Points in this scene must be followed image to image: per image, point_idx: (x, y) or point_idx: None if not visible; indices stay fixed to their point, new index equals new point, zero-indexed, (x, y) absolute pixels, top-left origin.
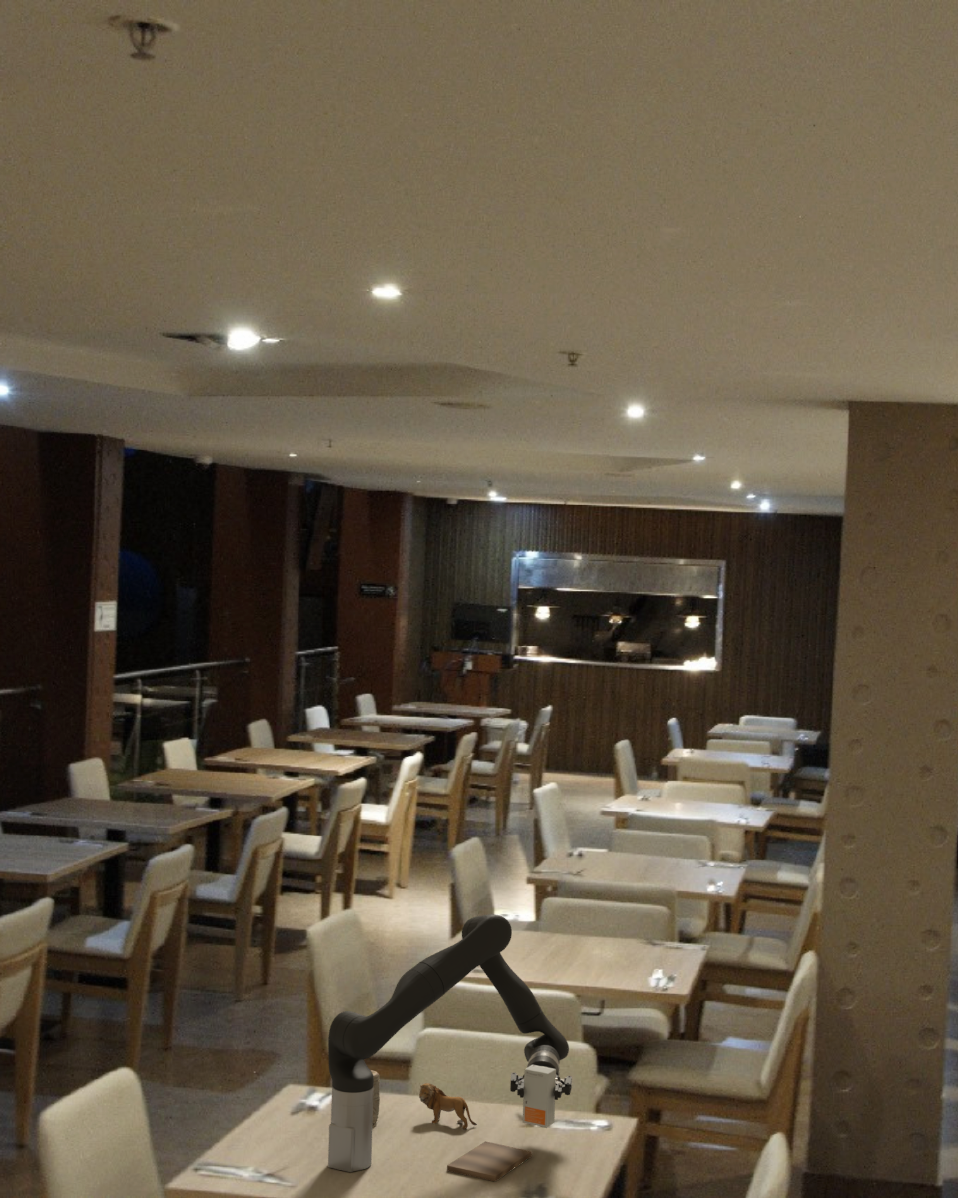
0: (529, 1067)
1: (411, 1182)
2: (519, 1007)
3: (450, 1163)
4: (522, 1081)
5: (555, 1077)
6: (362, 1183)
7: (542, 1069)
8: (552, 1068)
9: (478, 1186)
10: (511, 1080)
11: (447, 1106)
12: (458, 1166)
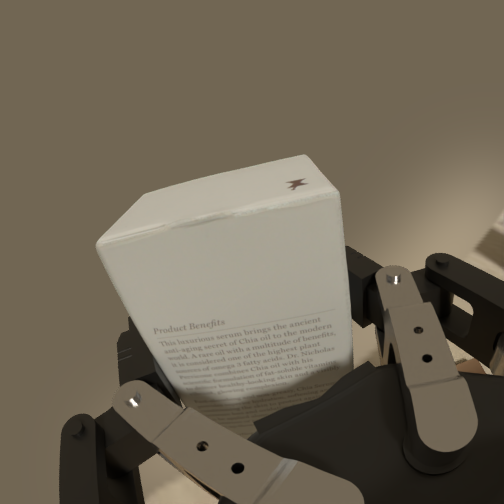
0: (299, 164)
1: (458, 300)
2: None
3: (481, 366)
4: (387, 278)
5: (124, 294)
6: (483, 261)
7: (193, 189)
8: (122, 229)
9: (373, 362)
10: (440, 253)
11: None
12: (459, 369)
